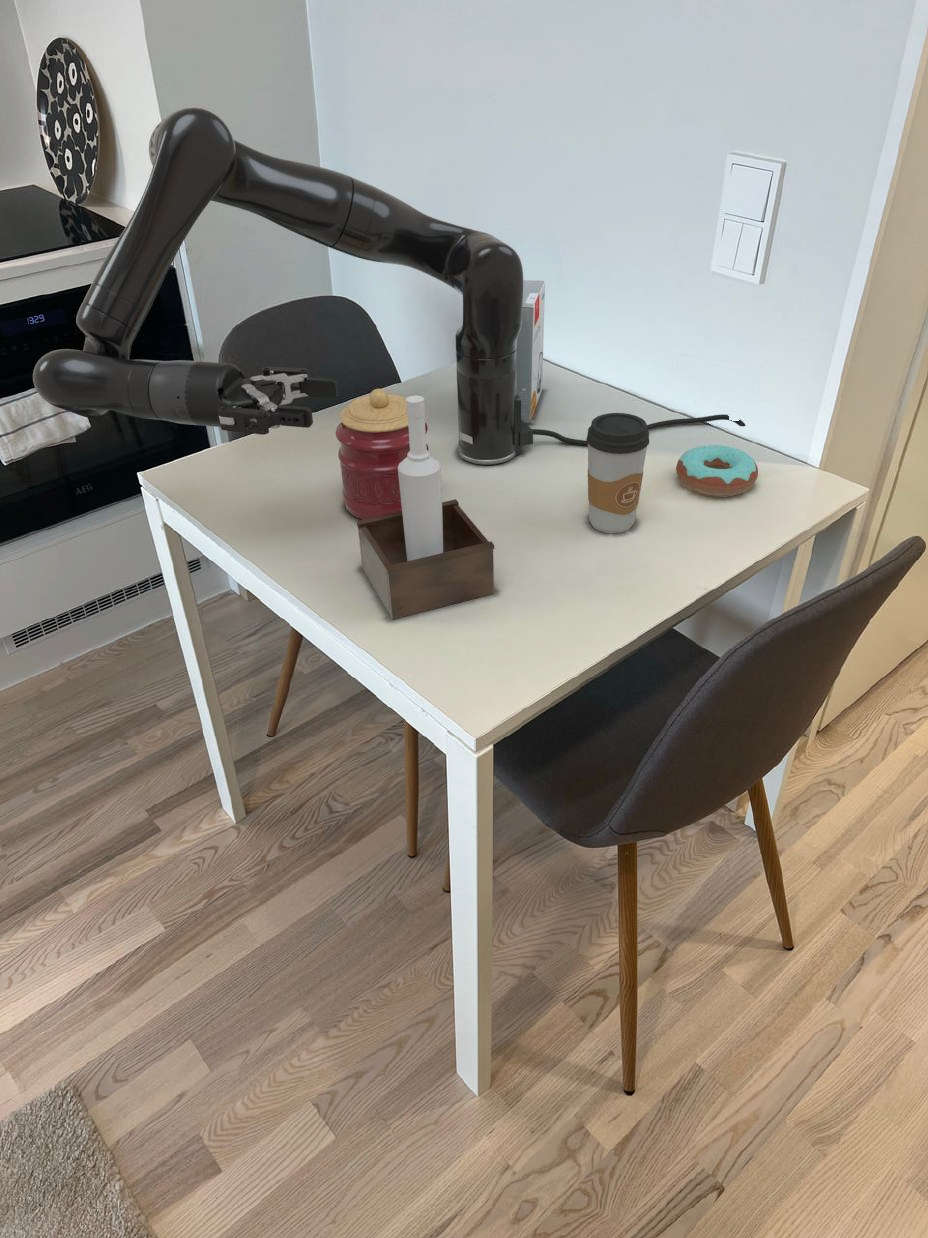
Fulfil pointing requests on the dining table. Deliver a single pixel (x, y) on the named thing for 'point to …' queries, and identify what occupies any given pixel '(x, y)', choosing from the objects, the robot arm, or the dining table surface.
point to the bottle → (420, 489)
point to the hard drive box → (530, 348)
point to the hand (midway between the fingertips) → (324, 402)
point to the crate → (426, 563)
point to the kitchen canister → (373, 453)
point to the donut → (717, 470)
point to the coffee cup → (615, 470)
